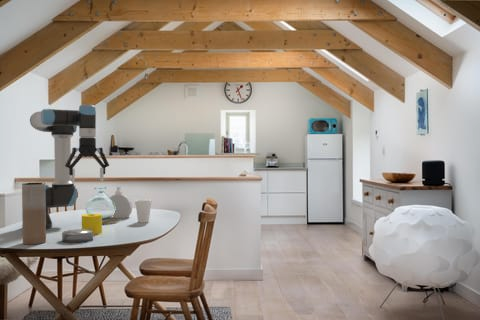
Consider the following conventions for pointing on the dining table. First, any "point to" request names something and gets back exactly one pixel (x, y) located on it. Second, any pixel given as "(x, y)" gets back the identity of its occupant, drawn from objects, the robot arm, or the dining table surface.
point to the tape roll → (92, 223)
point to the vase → (33, 213)
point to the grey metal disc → (77, 236)
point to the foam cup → (143, 210)
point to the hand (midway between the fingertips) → (87, 181)
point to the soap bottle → (121, 204)
